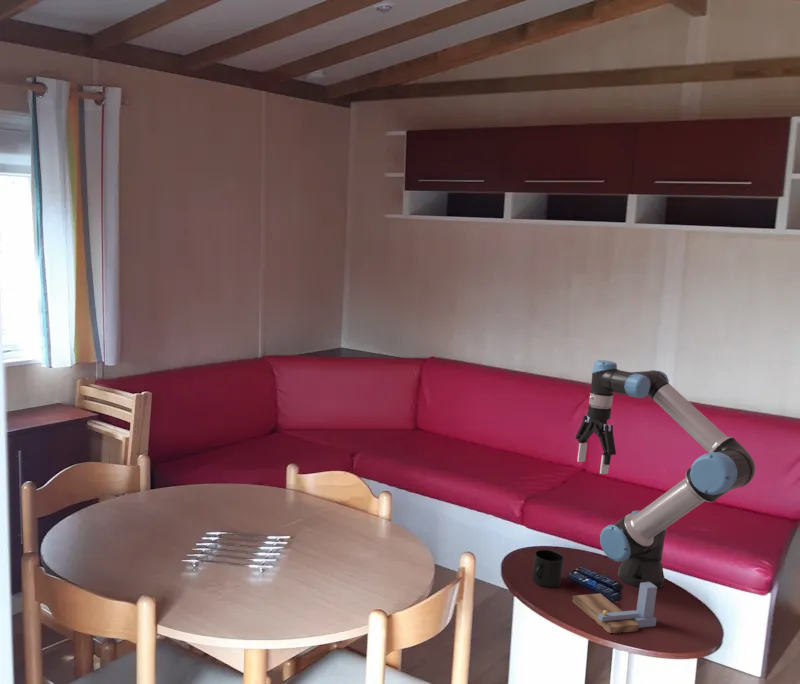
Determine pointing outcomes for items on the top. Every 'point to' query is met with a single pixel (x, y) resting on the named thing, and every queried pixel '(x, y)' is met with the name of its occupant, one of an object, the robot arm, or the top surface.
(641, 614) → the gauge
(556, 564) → the mug
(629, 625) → the board
